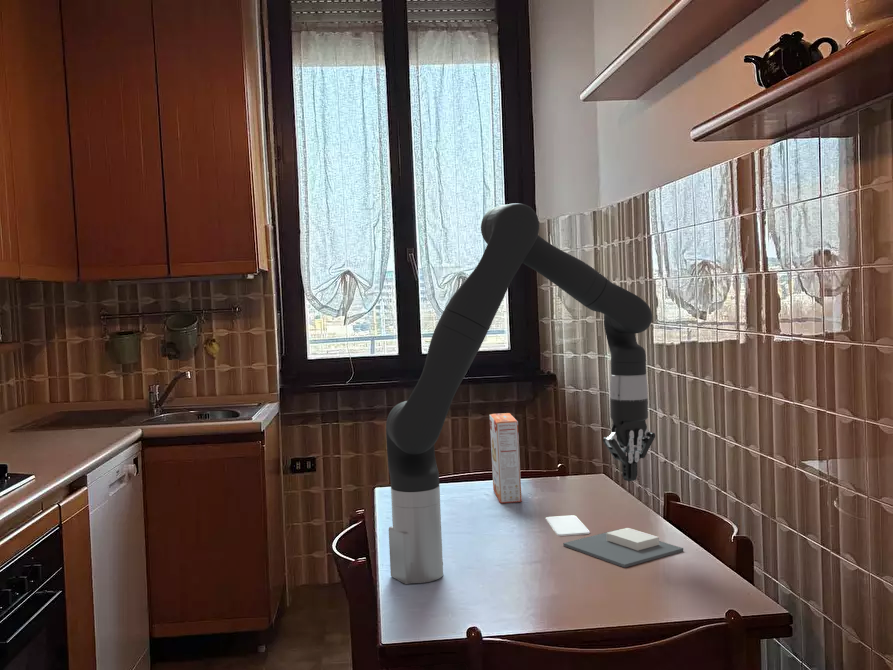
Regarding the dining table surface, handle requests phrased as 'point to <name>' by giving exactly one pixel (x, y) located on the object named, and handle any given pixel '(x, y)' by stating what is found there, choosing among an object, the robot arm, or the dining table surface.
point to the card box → (632, 538)
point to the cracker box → (505, 457)
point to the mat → (620, 550)
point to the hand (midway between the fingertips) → (630, 480)
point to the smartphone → (567, 525)
